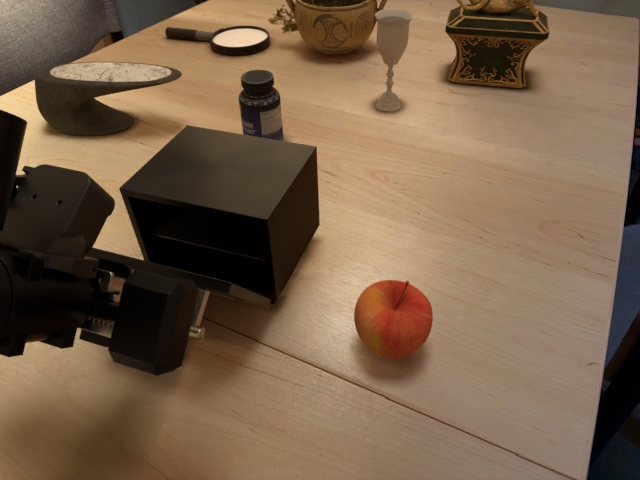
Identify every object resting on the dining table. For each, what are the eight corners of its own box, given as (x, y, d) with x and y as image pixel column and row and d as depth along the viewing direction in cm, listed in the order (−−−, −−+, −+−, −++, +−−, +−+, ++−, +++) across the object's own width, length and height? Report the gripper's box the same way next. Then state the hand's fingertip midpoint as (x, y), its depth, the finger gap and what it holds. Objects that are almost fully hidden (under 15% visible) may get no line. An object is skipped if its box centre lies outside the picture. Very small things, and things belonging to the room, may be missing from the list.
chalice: (411, 110, 89) (420, 18, 79) (380, 116, 87) (385, 24, 77) (395, 94, 93) (401, 6, 83) (365, 100, 92) (368, 11, 82)
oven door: (256, 351, 53) (213, 346, 43) (129, 314, 57) (62, 302, 47) (271, 299, 54) (232, 282, 44) (145, 266, 58) (82, 244, 48)
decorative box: (533, 69, 99) (562, -47, 86) (534, 92, 92) (566, -31, 79) (426, 61, 103) (438, -51, 90) (420, 82, 96) (432, -36, 83)
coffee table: (37, 134, 86) (14, 79, 80) (64, 108, 93) (44, 56, 86) (183, 142, 83) (170, 85, 77) (200, 115, 90) (190, 61, 83)
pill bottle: (238, 141, 83) (227, 74, 75) (271, 129, 85) (264, 63, 78) (256, 158, 79) (248, 89, 71) (291, 145, 81) (286, 77, 74)
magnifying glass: (182, 27, 121) (180, 17, 120) (278, 36, 115) (278, 26, 114) (153, 47, 113) (151, 37, 111) (255, 59, 107) (254, 48, 105)
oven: (279, 314, 56) (267, 219, 47) (150, 280, 60) (118, 188, 52) (320, 237, 65) (316, 146, 56) (206, 212, 69) (186, 124, 61)
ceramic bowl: (275, 63, 105) (267, -18, 95) (290, 32, 117) (285, -42, 107) (387, 67, 102) (392, -16, 92) (391, 34, 114) (395, -42, 104)
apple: (338, 345, 53) (337, 290, 47) (385, 305, 56) (390, 250, 51) (395, 389, 49) (402, 335, 43) (442, 343, 52) (453, 288, 47)
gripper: (146, 188, 27) (258, 222, 42) (-113, 134, 32) (70, 182, 47) (96, 400, 27) (227, 358, 42) (-157, 312, 32) (41, 303, 47)
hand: (137, 293), depth 44 cm, fingers closed
